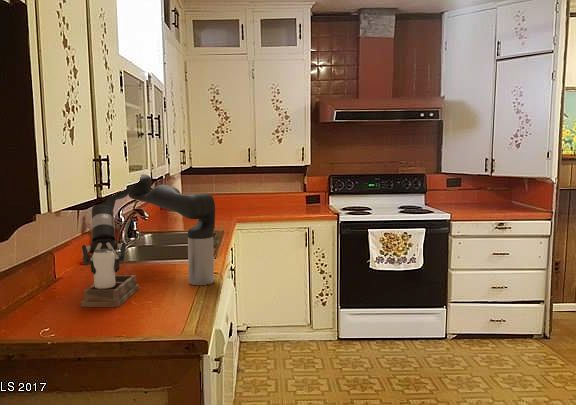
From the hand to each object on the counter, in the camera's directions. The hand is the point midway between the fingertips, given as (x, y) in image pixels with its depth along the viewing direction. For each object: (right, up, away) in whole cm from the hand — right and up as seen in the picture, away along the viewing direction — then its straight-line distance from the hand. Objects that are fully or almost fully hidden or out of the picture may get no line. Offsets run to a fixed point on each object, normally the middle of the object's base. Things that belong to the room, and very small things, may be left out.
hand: (105, 272), depth 155 cm
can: (-1, -5, +2) cm, 6 cm away
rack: (0, -9, +7) cm, 12 cm away
